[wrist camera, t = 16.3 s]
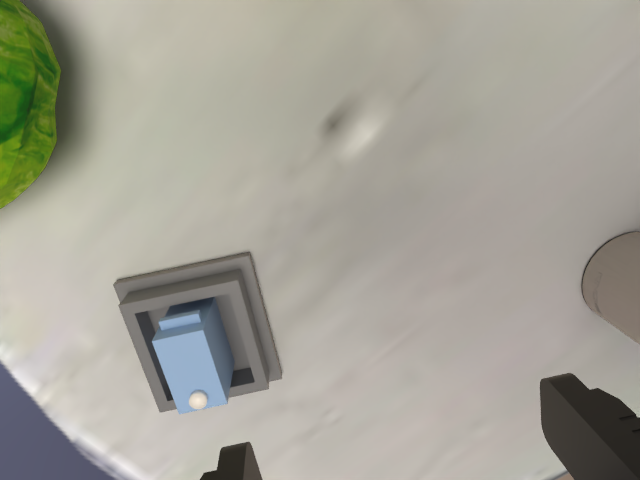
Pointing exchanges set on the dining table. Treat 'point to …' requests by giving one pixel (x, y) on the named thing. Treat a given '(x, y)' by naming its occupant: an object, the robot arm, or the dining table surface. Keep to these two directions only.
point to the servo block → (195, 355)
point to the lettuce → (25, 99)
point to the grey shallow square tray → (235, 309)
